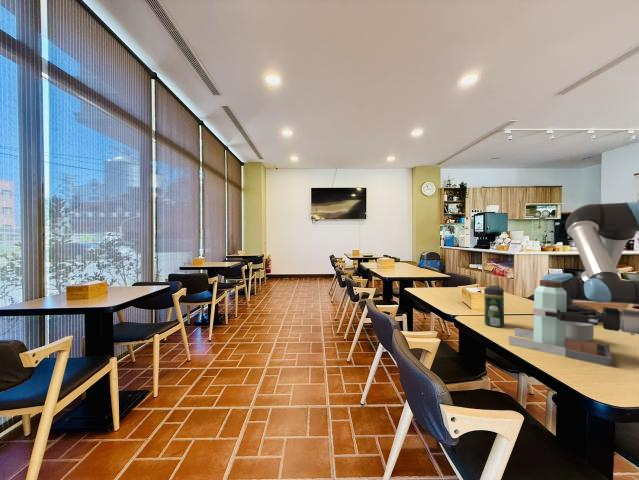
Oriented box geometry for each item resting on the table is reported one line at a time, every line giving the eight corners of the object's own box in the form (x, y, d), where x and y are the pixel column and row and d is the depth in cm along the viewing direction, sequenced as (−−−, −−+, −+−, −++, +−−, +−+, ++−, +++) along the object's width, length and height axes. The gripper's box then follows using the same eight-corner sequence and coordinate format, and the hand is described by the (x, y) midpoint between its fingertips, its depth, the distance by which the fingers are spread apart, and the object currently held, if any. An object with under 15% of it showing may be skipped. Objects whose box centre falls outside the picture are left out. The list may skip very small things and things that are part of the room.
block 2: (596, 354, 98) (596, 343, 98) (596, 358, 95) (596, 346, 95) (580, 351, 101) (580, 340, 101) (580, 354, 98) (580, 343, 98)
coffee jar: (486, 320, 139) (485, 284, 139) (504, 323, 134) (504, 285, 134) (482, 325, 131) (482, 286, 131) (502, 328, 126) (502, 288, 126)
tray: (608, 352, 100) (608, 345, 100) (612, 366, 88) (612, 359, 88) (566, 344, 107) (566, 337, 107) (565, 356, 96) (565, 349, 96)
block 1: (580, 352, 100) (580, 341, 100) (580, 355, 97) (580, 344, 97) (566, 349, 103) (565, 338, 103) (565, 352, 100) (565, 341, 100)
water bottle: (527, 343, 108) (528, 280, 107) (541, 340, 112) (542, 278, 111) (557, 354, 98) (559, 284, 98) (572, 349, 103) (573, 282, 102)
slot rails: (566, 344, 107) (566, 336, 107) (565, 356, 96) (565, 347, 96) (515, 334, 118) (515, 327, 118) (508, 344, 108) (508, 336, 108)
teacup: (601, 346, 106) (601, 325, 106) (568, 344, 108) (568, 323, 108) (575, 334, 119) (575, 315, 119) (547, 332, 121) (546, 314, 121)
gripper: (623, 340, 84) (532, 324, 100) (616, 323, 101) (538, 312, 116) (623, 315, 84) (532, 304, 100) (616, 303, 101) (538, 295, 116)
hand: (535, 308), depth 108 cm, fingers open, 9 cm apart
